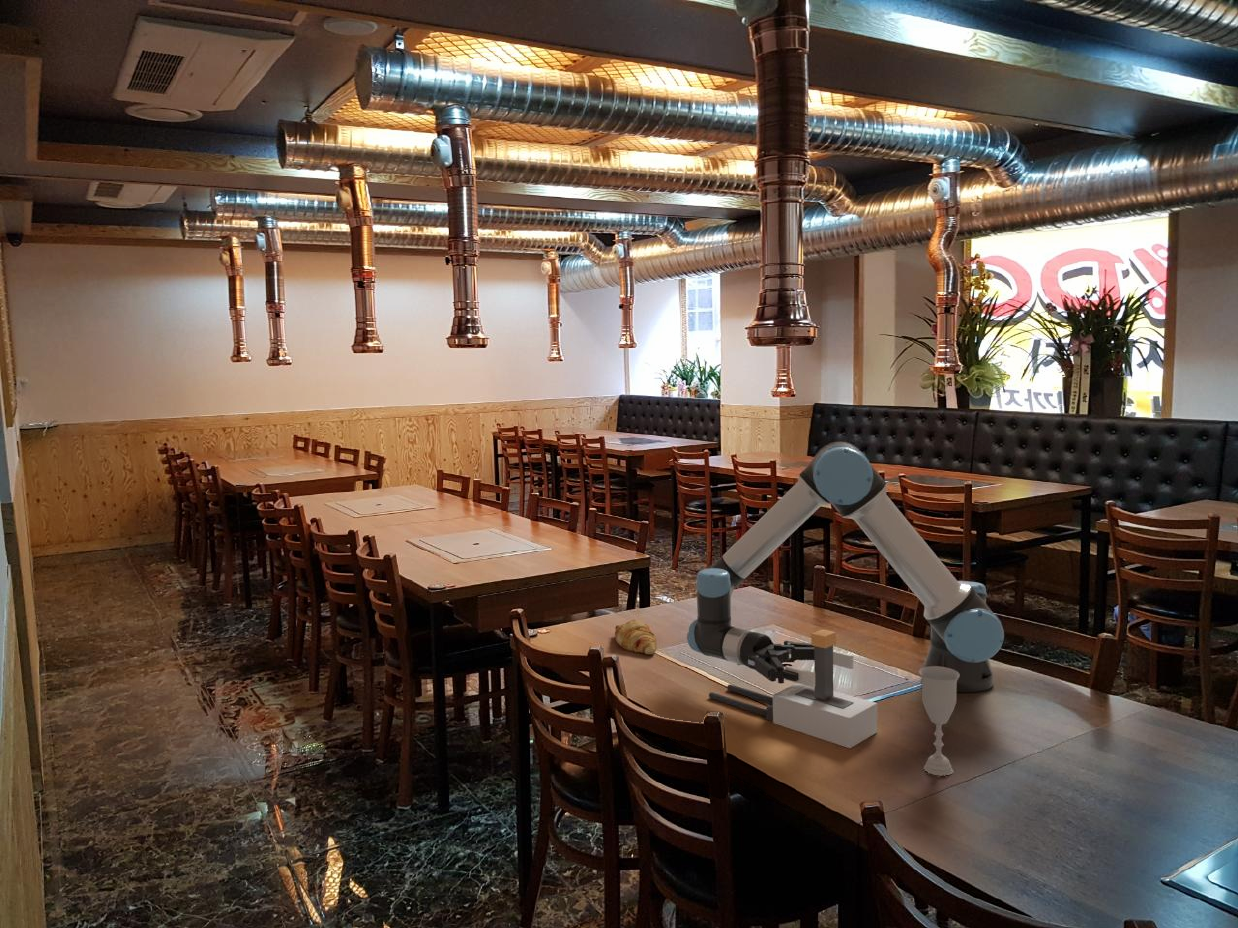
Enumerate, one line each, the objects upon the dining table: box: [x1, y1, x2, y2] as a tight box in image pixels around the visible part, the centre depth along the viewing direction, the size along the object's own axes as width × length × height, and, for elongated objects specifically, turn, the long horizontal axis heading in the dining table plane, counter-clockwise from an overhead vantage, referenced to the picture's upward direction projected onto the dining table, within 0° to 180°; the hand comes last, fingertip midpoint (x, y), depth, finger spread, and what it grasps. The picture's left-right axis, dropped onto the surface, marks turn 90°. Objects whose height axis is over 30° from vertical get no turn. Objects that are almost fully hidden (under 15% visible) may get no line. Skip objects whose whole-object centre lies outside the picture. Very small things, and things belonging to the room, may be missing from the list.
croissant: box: [614, 619, 658, 655], centre depth 233 cm, size 21×10×8 cm, turn 27°
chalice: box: [918, 666, 960, 777], centre depth 156 cm, size 7×7×18 cm
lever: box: [810, 629, 837, 700], centre depth 175 cm, size 3×4×13 cm
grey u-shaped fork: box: [708, 684, 773, 722], centre depth 190 cm, size 19×9×3 cm, turn 44°
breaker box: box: [772, 683, 878, 749], centre depth 177 cm, size 18×10×6 cm, turn 44°
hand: (834, 670), depth 174 cm, fingers open, 13 cm apart
